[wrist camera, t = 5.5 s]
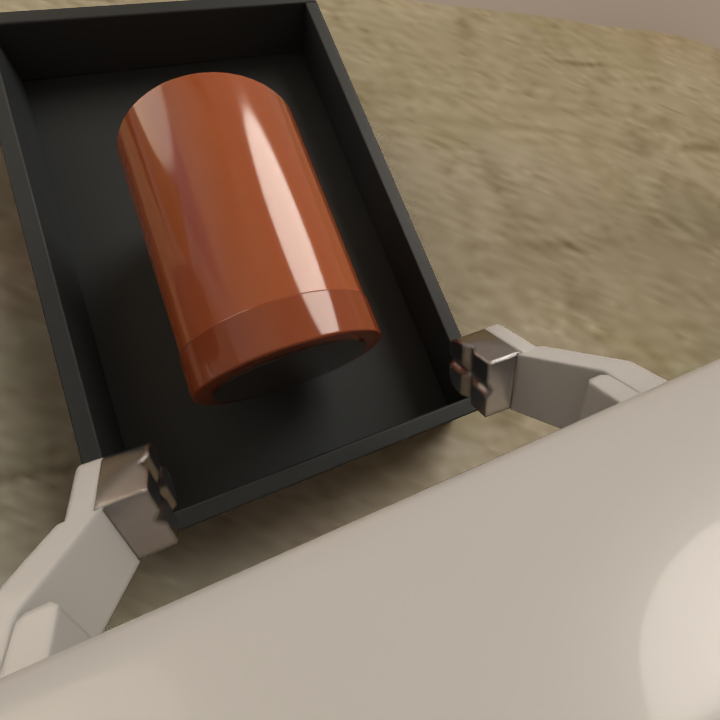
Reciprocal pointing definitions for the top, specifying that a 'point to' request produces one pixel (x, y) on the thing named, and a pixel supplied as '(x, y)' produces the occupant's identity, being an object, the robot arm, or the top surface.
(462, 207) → the top surface
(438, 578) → the robot arm
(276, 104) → the plant pot
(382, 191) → the plant tray
